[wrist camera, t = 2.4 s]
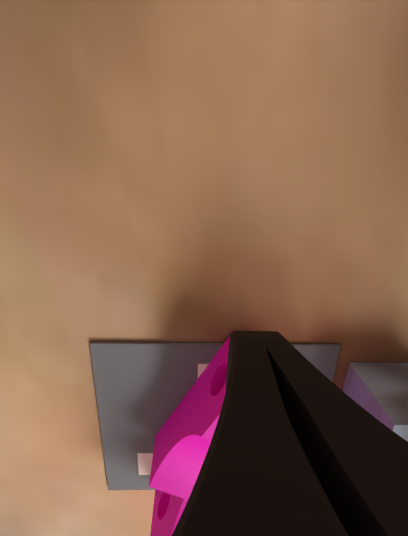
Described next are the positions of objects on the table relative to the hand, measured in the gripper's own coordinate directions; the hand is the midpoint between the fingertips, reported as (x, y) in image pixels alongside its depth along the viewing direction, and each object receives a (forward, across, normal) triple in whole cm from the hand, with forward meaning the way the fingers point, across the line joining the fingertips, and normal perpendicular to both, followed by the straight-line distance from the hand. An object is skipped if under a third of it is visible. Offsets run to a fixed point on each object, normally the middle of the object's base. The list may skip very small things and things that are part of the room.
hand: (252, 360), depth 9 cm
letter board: (+9, 0, +13) cm, 16 cm away
